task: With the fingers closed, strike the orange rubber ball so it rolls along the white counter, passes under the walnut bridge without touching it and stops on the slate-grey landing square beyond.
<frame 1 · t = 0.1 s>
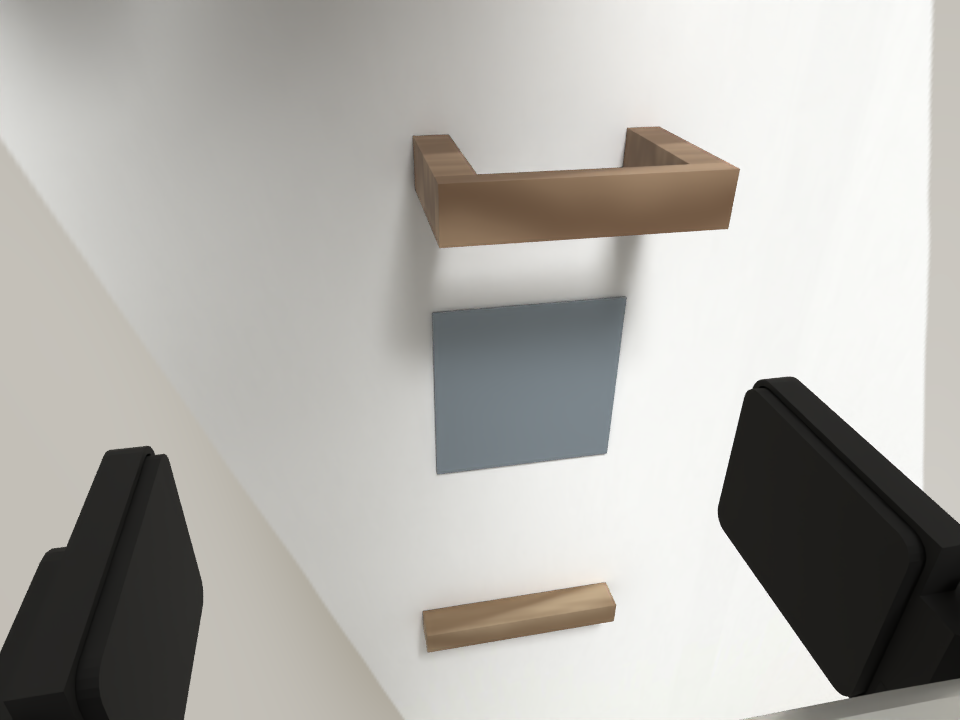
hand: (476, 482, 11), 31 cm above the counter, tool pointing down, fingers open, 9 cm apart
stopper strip: (516, 604, 60), on the counter
bridge: (538, 157, 41), on the counter
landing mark: (527, 388, 49), on the counter
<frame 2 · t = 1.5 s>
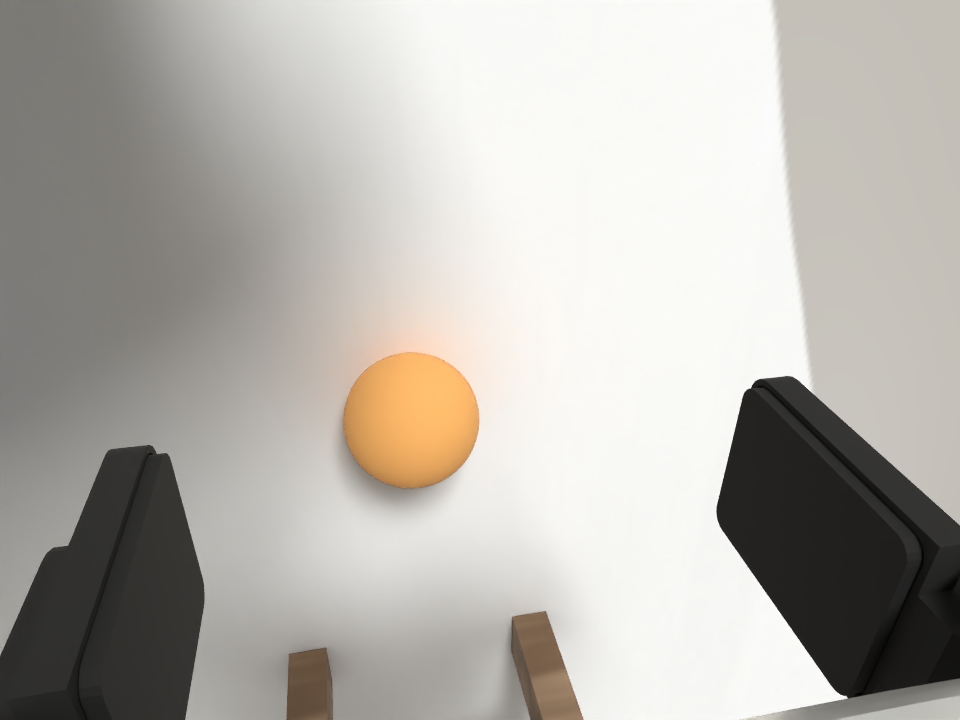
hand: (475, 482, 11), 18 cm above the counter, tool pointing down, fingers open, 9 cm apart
bridge: (422, 649, 41), on the counter
ball: (411, 419, 29), on the counter
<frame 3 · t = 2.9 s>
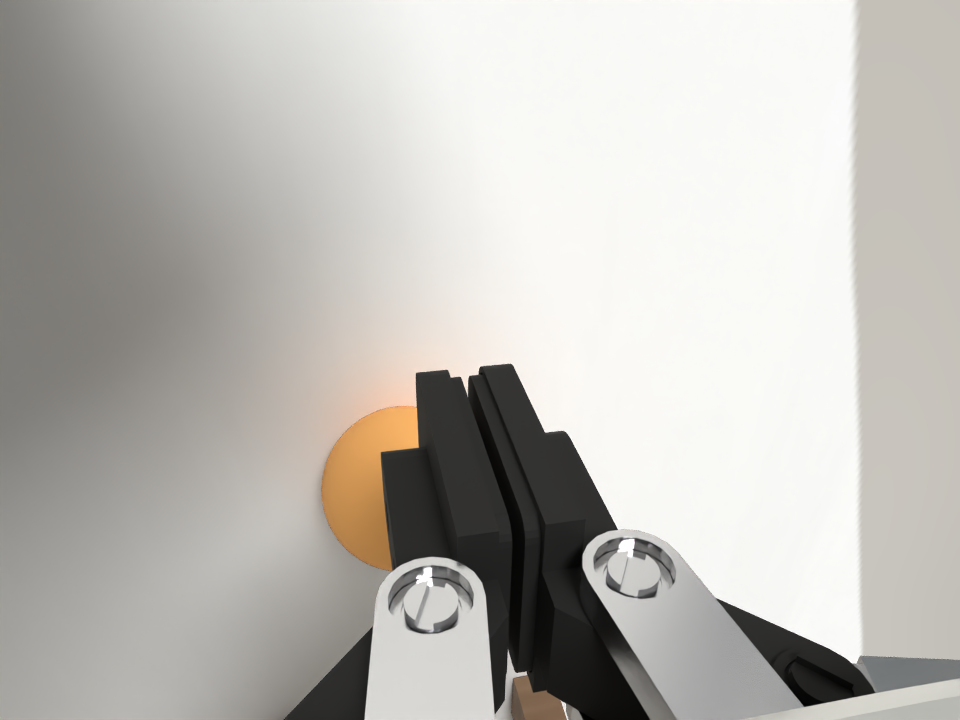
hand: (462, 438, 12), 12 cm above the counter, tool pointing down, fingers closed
bridge: (412, 715, 36), on the counter
ball: (404, 487, 24), on the counter
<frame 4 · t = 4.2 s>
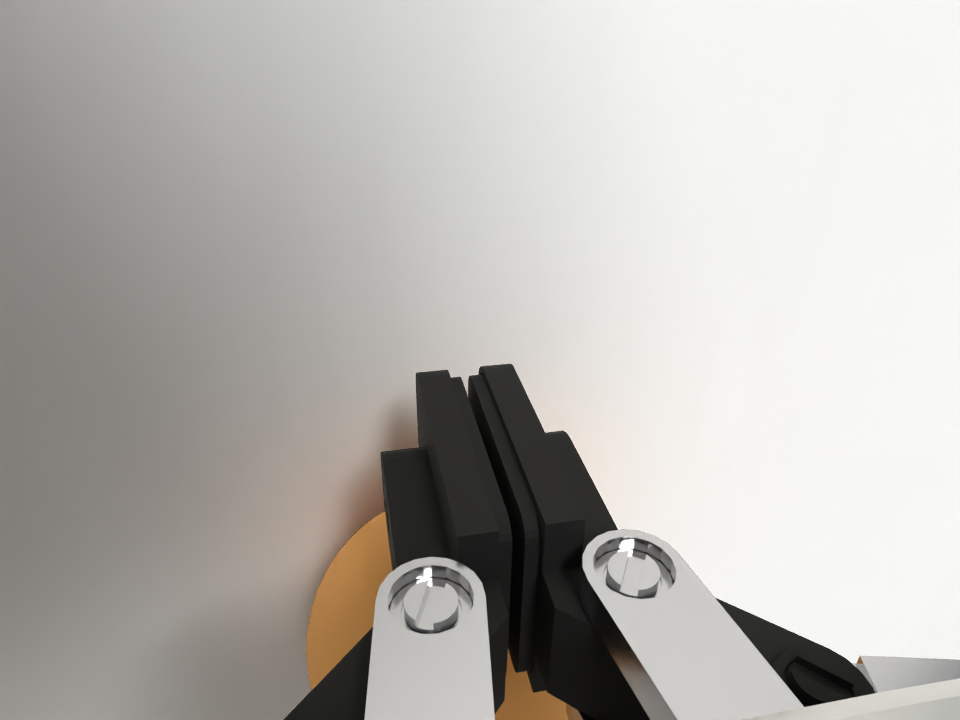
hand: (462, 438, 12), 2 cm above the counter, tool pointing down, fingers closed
ball: (450, 636, 14), on the counter
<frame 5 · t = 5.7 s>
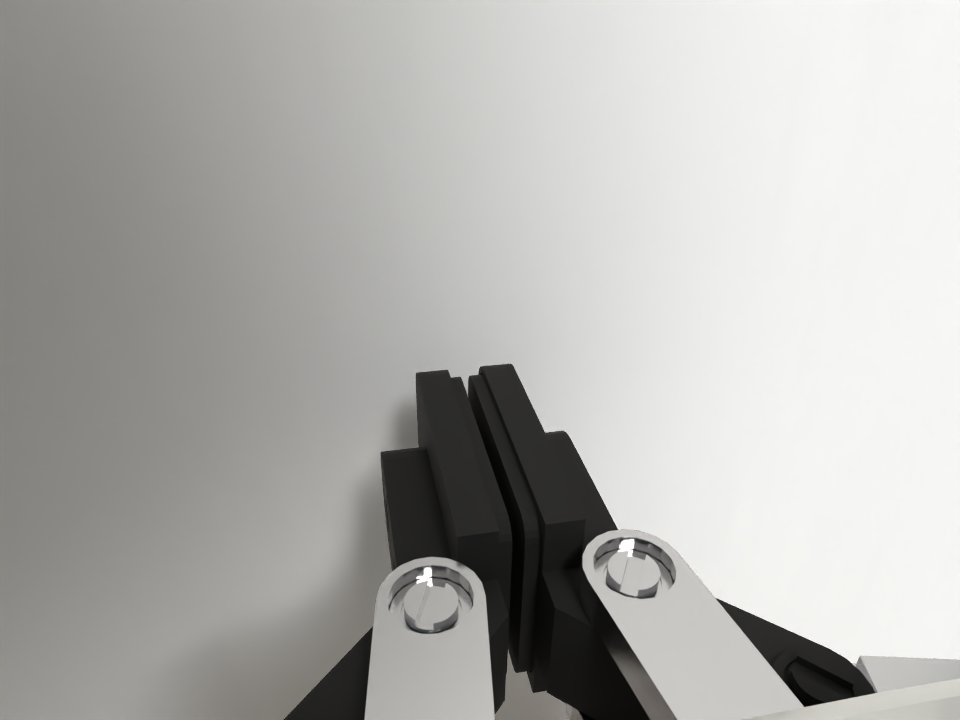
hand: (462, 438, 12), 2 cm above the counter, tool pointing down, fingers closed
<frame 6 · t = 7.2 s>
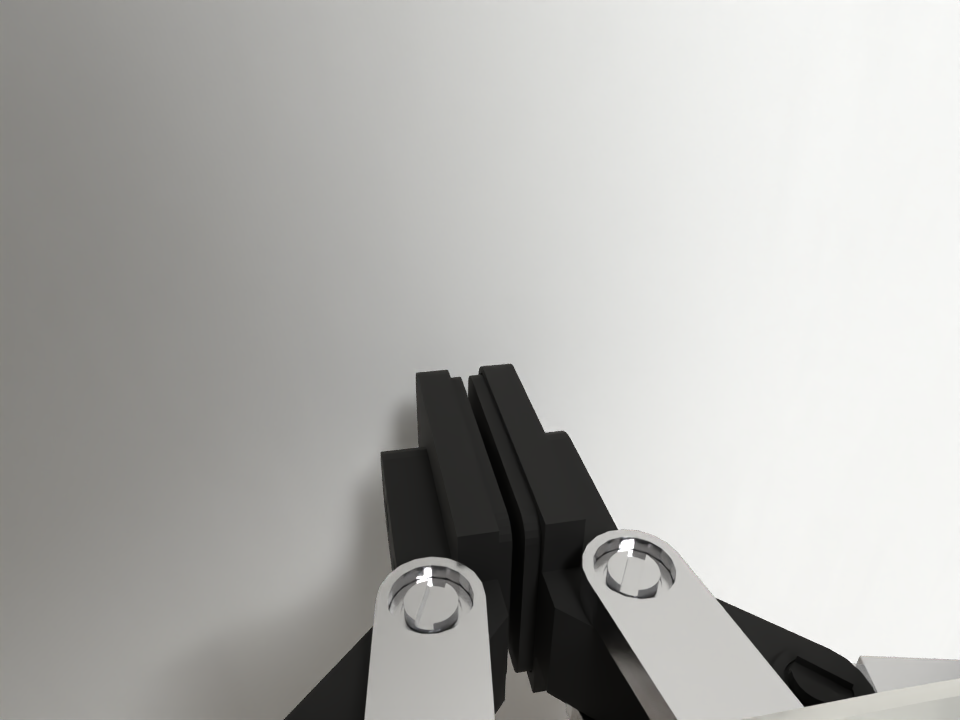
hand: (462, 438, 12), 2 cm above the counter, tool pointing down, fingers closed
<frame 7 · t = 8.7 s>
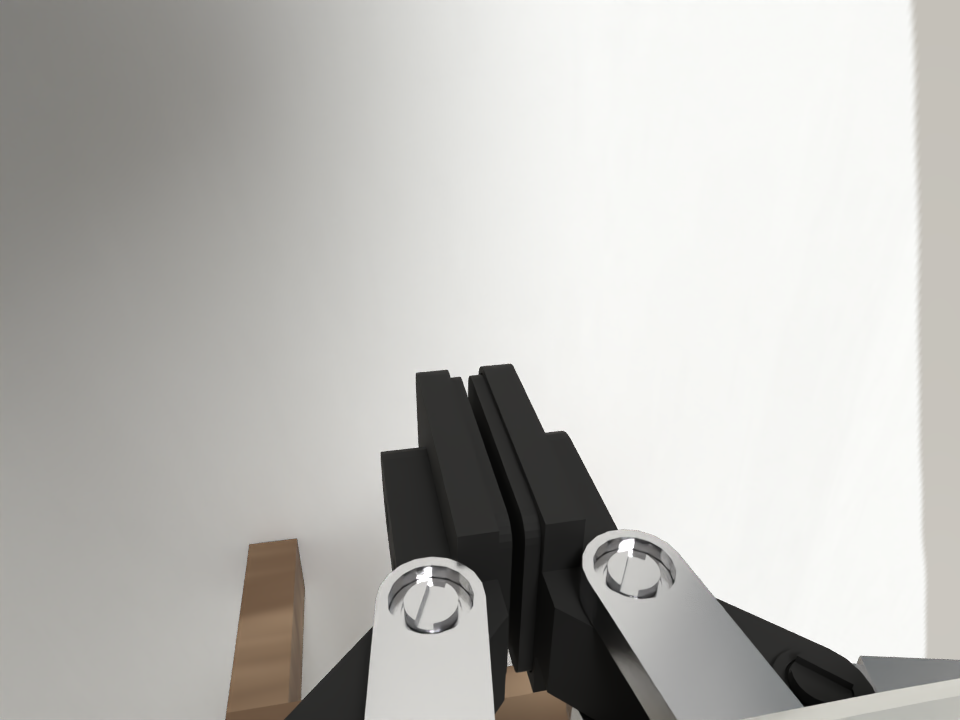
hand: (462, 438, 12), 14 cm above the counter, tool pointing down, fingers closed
bridge: (419, 548, 32), on the counter
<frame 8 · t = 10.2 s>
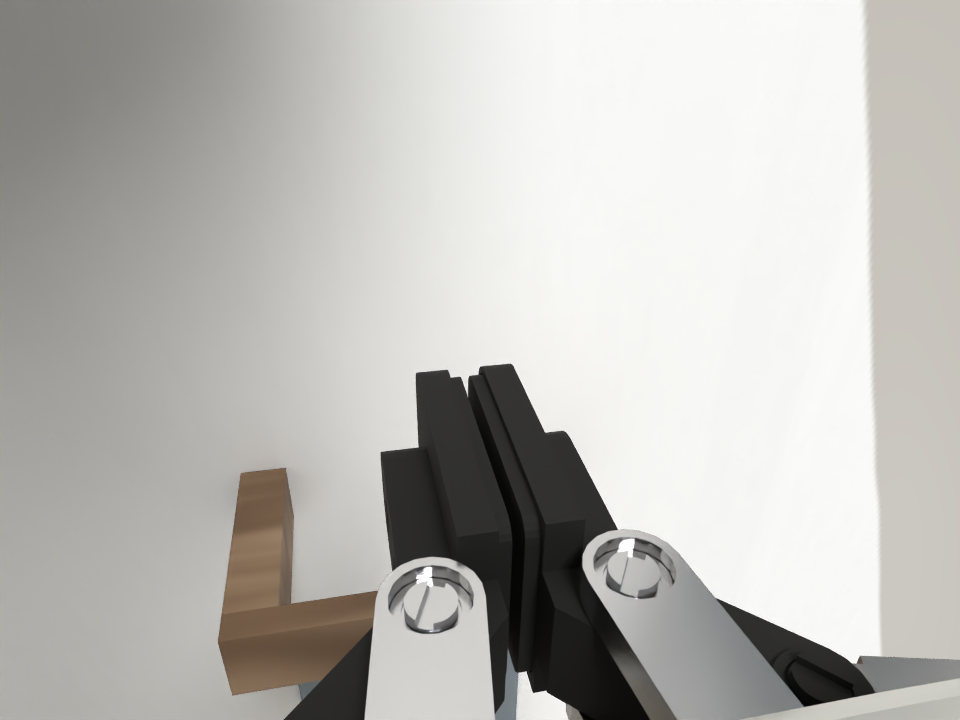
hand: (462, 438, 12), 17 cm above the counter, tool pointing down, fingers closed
bridge: (400, 479, 34), on the counter
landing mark: (413, 684, 43), on the counter
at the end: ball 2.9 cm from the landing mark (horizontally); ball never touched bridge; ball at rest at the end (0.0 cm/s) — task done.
